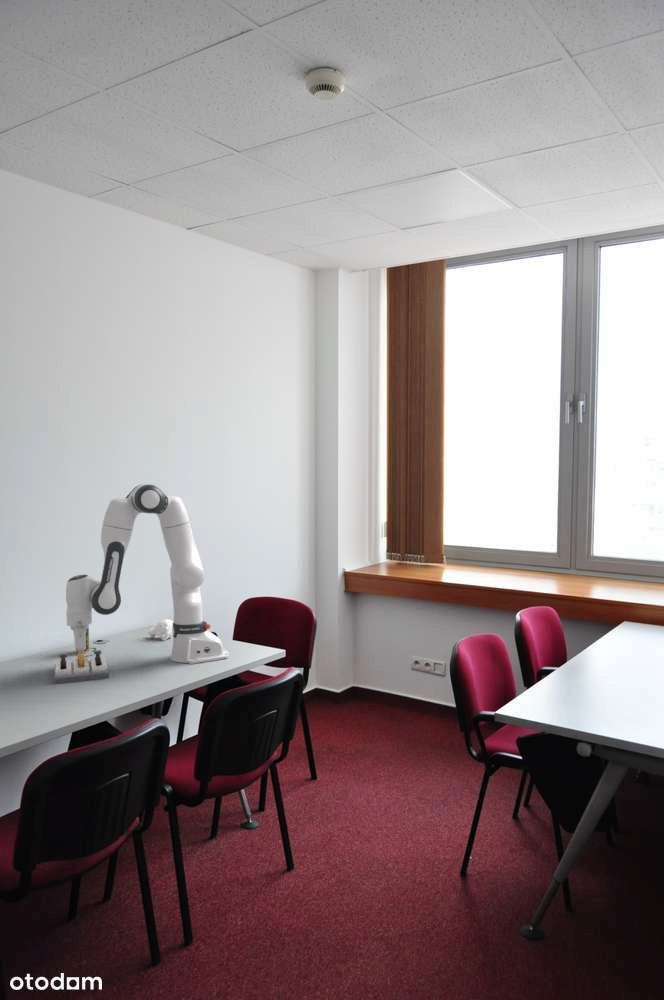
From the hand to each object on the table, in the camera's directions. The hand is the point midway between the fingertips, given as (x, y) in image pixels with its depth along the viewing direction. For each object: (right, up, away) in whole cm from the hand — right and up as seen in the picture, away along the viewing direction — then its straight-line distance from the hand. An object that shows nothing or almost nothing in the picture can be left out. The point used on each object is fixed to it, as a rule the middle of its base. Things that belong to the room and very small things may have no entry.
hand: (80, 656), depth 272 cm
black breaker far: (-5, -3, -4) cm, 7 cm away
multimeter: (-4, -4, +26) cm, 26 cm away
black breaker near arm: (+6, -3, +1) cm, 7 cm away
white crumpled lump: (+18, -3, +48) cm, 52 cm away
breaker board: (+2, -5, -5) cm, 7 cm away
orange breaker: (+2, -3, -5) cm, 6 cm away
